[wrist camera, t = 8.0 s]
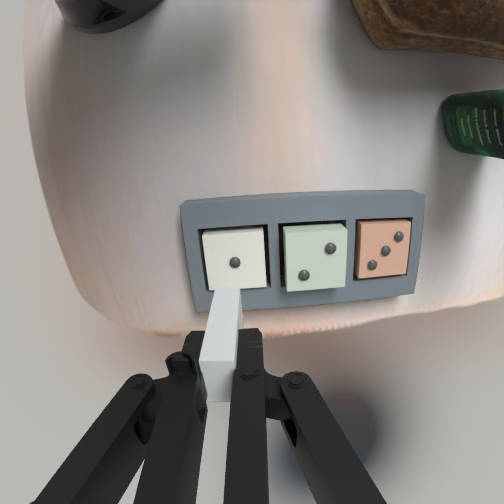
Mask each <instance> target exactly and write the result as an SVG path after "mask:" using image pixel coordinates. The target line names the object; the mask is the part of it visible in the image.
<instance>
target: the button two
mask: <svg viewBox="0 0 504 504" xmlns="http://www.w3.org/2000/svg"><path fill="white" fill-rule="evenodd" d="M347 232H348V230H347V229H346V228H345V227H344V226H343V225H342V224H340V223H338V224H319V225H301V226H284V227H283V245H284V274H285V284H286V289H287V292H289V291H302V290H314V289H326V288H337V287H345V278H346V260H347Z"/></svg>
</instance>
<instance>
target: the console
mask: <svg viewBox="0 0 504 504" xmlns="http://www.w3.org/2000/svg"><path fill="white" fill-rule="evenodd" d="M424 201H425V195H424V194H421V193H418V192H415V191H412V190H356V191H319V192H295V193H276V194H260V195H245V196H232V197H220V198H209V199H198V200H188V201H185V202H184V203H183V204H181V205H180V213H181V221H182V228H183V235H184V242H185V249H186V256H187V262H188V268H189V275H190V281H191V287H192V292H193V298H194V304H195V309H196V312H210V309H211V304H212V300H213V296H214V292H215V290H209V284H208V277H207V270H206V263H205V255H204V247H203V240H202V235H203V229H204V228H217V227H230V226H244V225H259V224H267V236H268V253H269V272H270V277H266V286H267V287H259V288H243V289H240V293H241V303H242V310H254V309H270V308H284V307H297V306H308V305H320V304H330V303H340V302H349V301H358V300H367V299H376V298H384V297H391V296H399V295H406V294H413V293H414V290H415V284H416V278H417V272H418V265H419V257H420V249H421V240H422V230H423V217H424ZM400 217H402V218H404V219H406V220H408V221H410V222H411V230H410V241H409V251H408V260H407V268H406V274H398V275H388V276H379V277H369V278H358V277H357V276H356V274H355V273H354V272H353V267H354V248H355V219H372V218H400ZM328 220H338V223H340V224H342V225H343V226H344V227H345V228H346V229H347V230H348V232H347V260H346V278H345V287H337V288H326V289H314V290H302V291H289V292H287V289H286V284H285V275H284V276H280V258H279V235H278V223H291V222H309V221H328Z"/></svg>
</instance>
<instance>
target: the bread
mask: <svg viewBox="0 0 504 504" xmlns="http://www.w3.org/2000/svg"><path fill="white" fill-rule="evenodd" d="M351 1H352V3H353V5H354V7H355V9H356V11H357V13H358V16H359V18H360V20H361V23H362V24H363V26H364V28H365V30H366V32H367V33H368V35H369V37H370V39H371V40H372V42H373V43H374V44H375V45H376V46H377V47H378V48H379V49H412V50H427V51H443V52H456V53H466V54H472V55H477V56H484V57H493V58H499V59H504V0H351Z"/></svg>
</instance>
